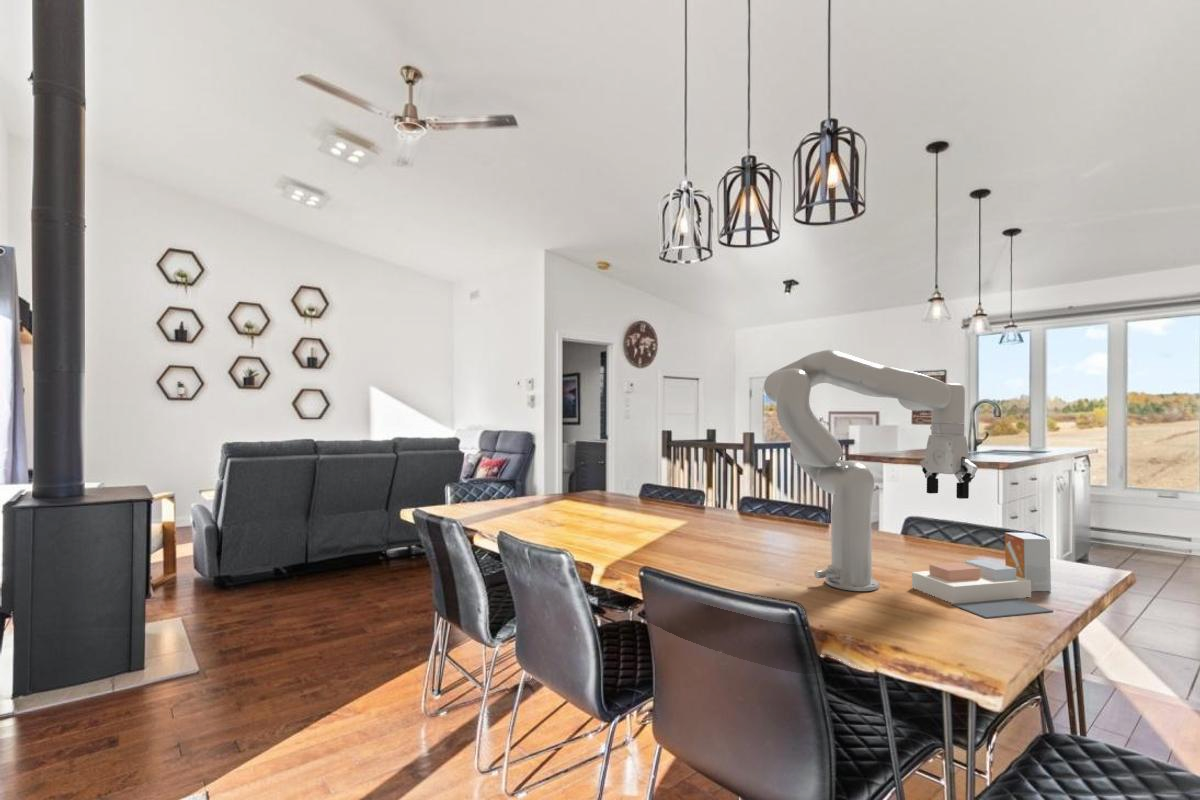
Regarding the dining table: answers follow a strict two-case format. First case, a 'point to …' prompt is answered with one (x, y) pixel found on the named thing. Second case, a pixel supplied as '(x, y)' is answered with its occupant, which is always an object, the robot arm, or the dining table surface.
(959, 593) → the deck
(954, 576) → the terracotta tile
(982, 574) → the blue-grey tile
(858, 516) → the robot arm
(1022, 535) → the small box
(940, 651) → the dining table surface
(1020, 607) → the mat
